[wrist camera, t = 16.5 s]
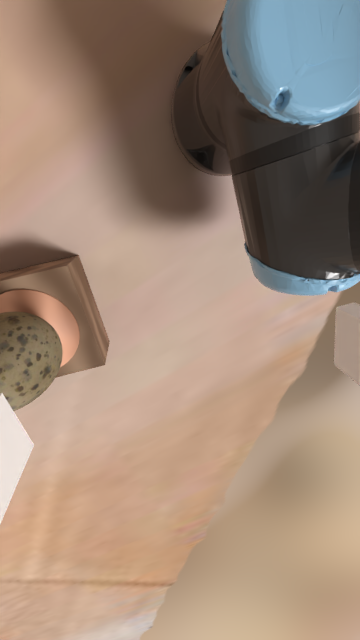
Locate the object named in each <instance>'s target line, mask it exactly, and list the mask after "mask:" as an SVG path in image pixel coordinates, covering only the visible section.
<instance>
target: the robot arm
mask: <svg viewBox="0 0 360 640" xmlns="http://www.w3.org/2000/svg"><path fill="white" fill-rule="evenodd" d="M171 117H172V126H173V131H174V135H175V138H176V141H177V143H178V145H179V147H180V149H181V151H182V153H183V154H184V155H185V157H186V158H187V159H188V160H189V161H190V162H191V163H192V164H193V165H194V166H195V167H196V168H198V169H199V170H201V171H203V172H205V173H208V174H211V175H216V176H228V175H232V180H233V185H234V189H235V194H236V199H237V204H238V208H239V213H240V218H241V223H242V228H243V232H244V237H245V250H246V253H247V254H248V256H249V259H250V263H251V266H252V270H253V273H254V275H255V277H256V278H257V279H258V280H259V281H260V282H261V283H262V284H263V285H264V286H266V287H268V288H270V289H272V290H275V291H278V292H281V293H286V294H292V295H323V294H326V293H327V292H328V291H333V292H339V291H342V290H345V289H348V288H350V287H352V286H353V285H354V284H356V283H358V282H359V281H360V0H227V2H226V5H225V8H224V11H223V13H222V15H221V18H220V20H219V23H218V25H217V27H216V30H215V32H214V35H213V37H212V39H211V41H210V42H208V43H207V44H205V45H203V46H202V47H201V48H199V49H198V50H197V51H196V52H195V53H194V54H193V55H192V56H191V58H190V59H189V60H188V62H187V63H186V65H185V66H184V68H183V70H182V72H181V74H180V76H179V79H178V81H177V84H176V87H175V90H174V94H173V99H172V109H171ZM334 365H335V366H336V367H338V368H339V369H340V370H341V371H342V372H344V373H345V374H346V375H347V376H349V377H350V378H351V379H353V381H355V382H356V383H357V384H358V385H360V305H359V304H357V303H350V304H346V305H342V306H338V307H336V326H335V353H334ZM33 446H34V444H33V442H32V441H31V439H30V438H29V436H28V434H27V433H26V431H25V429H24V428H23V426H22V424H21V423H20V421H19V420H18V418H17V416H16V415H15V413H14V411H13V410H12V408H11V406H10V405H9V403H8V402H7V400H6V398H5V397H4V395H3V393H1V394H0V523H1V521H2V519H3V516H4V514H5V512H6V509H7V507H8V505H9V502H10V500H11V498H12V495H13V493H14V491H15V488H16V486H17V484H18V481H19V479H20V477H21V474H22V472H23V470H24V467H25V465H26V463H27V460H28V458H29V456H30V453H31V451H32V449H33Z"/></svg>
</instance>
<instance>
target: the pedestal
mask: <svg viewBox="0 0 360 640" xmlns="http://www.w3.org/2000/svg"><path fill="white" fill-rule="evenodd" d="M4 312H26V313H30V314H33V315H36V316H38V317H40V318H42V319H44V320H45V321H47V322H48V323H49V324H50V325H51V326H52V327H53V328H54V329H55V331H56V332H57V334H58V336H59V338H60V340H61V344H62V351H63V355H62V362H61V366H60V369H59V371H58V374H57V375H56V377H59V376H63V375H67V374H71V373H75V372H79V371H83V370H87V369H91V368H95V367H99V366H103V365H105V361H106V356H107V351H108V346H109V339H108V336H107V333H106V330H105V327H104V325H103V322H102V319H101V316H100V314H99V311H98V308H97V305H96V302H95V300H94V297H93V294H92V291H91V289H90V286H89V283H88V280H87V277H86V275H85V272H84V269H83V266H82V263H81V261H80V258H79V255H77V256H73V257H69V258H64V259H60V260H56V261H52V262H47V263H43V264H39V265H34V266H30V267H26V268H21V269H17V270H13V271H9V272H4V273H0V313H4ZM56 377H55V378H56Z"/></svg>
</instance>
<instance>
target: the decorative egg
mask: <svg viewBox="0 0 360 640" xmlns="http://www.w3.org/2000/svg"><path fill="white" fill-rule="evenodd" d="M62 355H63V351H62V344H61V340H60V338H59V336H58V334H57V332H56V331H55V329H54V328H53V327H52V326H51V325H50V324H49V323H48V322H47V321H45V320H44V319H42V318H40V317H38V316H36V315H33V314H30V313H26V312H4V313H0V394H1V393H3V395H4V397H5V398H6V400H7V402H8V403H9V405H10V406H11V408H12V410H13V411H15V410H18V409H20V408H22V407H24V406H25V405H27V404H29V403H30V402H32V401H33V400H35V399H36V398H37V397H39V396H40V395H41V394H42V393H43V392H44V391H45V390H46V389H47V388H48V387H49V386H50V385H51V383H52V382H53V380H54V379H55V377H56V375H57V374H58V371H59V369H60V366H61V362H62Z"/></svg>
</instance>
